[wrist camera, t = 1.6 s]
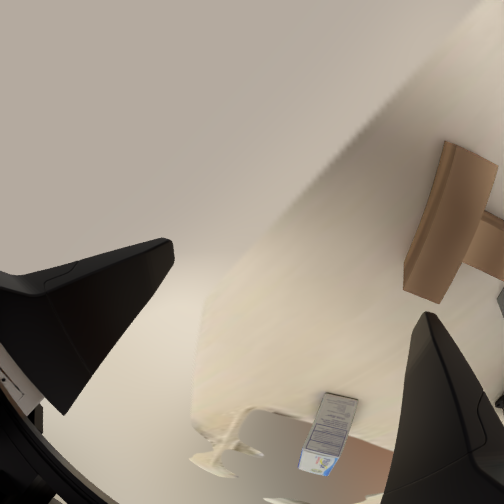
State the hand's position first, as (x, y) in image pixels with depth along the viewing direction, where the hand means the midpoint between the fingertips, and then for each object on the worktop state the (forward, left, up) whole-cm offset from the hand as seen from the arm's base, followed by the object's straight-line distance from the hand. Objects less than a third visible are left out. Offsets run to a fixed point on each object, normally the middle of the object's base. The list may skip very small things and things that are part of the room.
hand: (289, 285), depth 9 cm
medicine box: (-8, +27, -14) cm, 32 cm away
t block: (-10, -1, -13) cm, 17 cm away
